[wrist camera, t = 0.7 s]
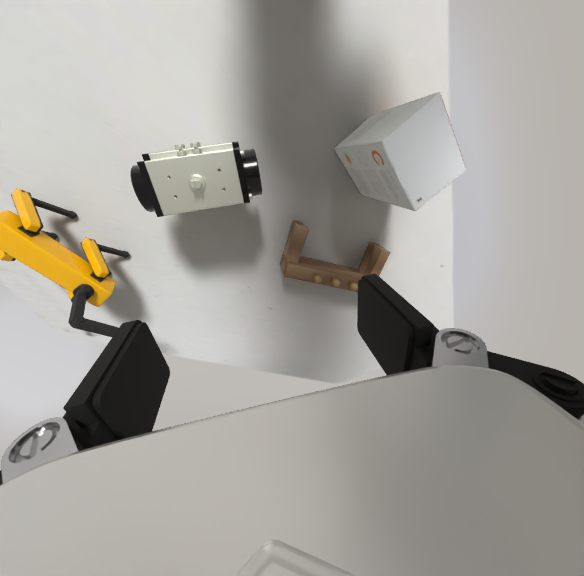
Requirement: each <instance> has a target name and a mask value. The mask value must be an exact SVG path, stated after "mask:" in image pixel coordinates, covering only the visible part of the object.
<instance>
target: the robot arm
mask: <svg viewBox="0 0 584 576" xmlns="http://www.w3.org/2000/svg"><path fill="white" fill-rule="evenodd" d="M357 327H358V332H359V334H360V335H361V337H362V338H363V340H364V341H365V343H366V344H367V346H368V347H369V349H370V350H371V352H372V354H373V355H374V357H375V358H376V360H377V361H378V363H379V364H380V366H381V367H382V369H383V370H384V371H385V373H386V374H387V375H386V376H382V377H378V378H373V379H369V380H364V381H360V382H356V383H351V384H347V385H343V386H339V387H335V388H330V389H326V390H322V391H317V392H313V393H309V394H305V395H300V396H296V397H292V398H288V399H284V400H279V401H275V402H271V403H267V404H263V405H259V406H254V407H250V408H246V409H242V410H238V411H234V412H230V413H226V414H221V415H218V416H213V417H209V418H205V419H201V420H197V421H193V422H190V423H185V424H181V425H177V426H173V427H169V428H165V429H161V430H157V431H152V429H153V426H154V423H155V420H156V417H157V414H158V411H159V408H160V404H161V401H162V398H163V395H164V392H165V389H166V386H167V383H168V379H169V376H170V370H169V367H168V365H167V363H166V361H165V359H164V357H163V355H162V353H161V351H160V349H159V347H158V345H157V343H156V341H155V339H154V337H153V335H152V333H151V331H150V329H149V327H148V325H147V324H146V323H145V322H143V323H142V322H141V321H140V320H136V321H130V322H125V323H123V324H122V325H121V326H120V328H119V329H118V330H117V332H116V333H115V335H114V336H113V338H112V339H111V340H110V342H109V343H108V345H107V346H106V348H105V349H104V350H103V352H102V353H101V355H100V356H99V358H98V359H97V361H96V362H95V363H94V365H93V366H92V368H91V369H90V371H89V372H88V373H87V375H86V376H85V378H84V379H83V380H82V382H81V383H80V385H79V386H78V388H77V389H76V391H75V392H74V393H73V395H72V396H71V398H70V399H69V401H68V402H67V403H66V405H65V406H64V410H65V411H66V414H65V415H64V416H63V418H59V417H56V418H50V419H47V420H45V421H42V422H40V423H38V424H37V425H34V426H33V427H31V428H29V429H28V430H27V431H25V432H24V433H22V434H21V435H20V436H19V437H18V438H17V439H16V440H14V442H13V443H12V444H11V445H10V446H9V447H8V448H7V450H6V451H5V453H4V455H3V456H2V460H1V471H0V576H584V384H583V383H582V382H580V381H579V380H577V379H576V378H574V377H572V376H570V375H568V374H566V373H564V372H561V371H559V370H556V369H553V368H549V367H545V366H541V365H538V364H534V363H530V362H526V361H522V360H519V359H515V358H511V357H507V356H503V355H500V354H496V353H492V352H489V351H487V348H486V345H485V343H484V342H483V341H482V339H481V338H479V337H478V336H476V335H475V334H473V333H471V332H468V331H465V330H462V329H455V328H448V329H443V330H441V331H439V330H438V329H437V328H436V327H435V326H434V325H433V324H432V323H431V322H430V321H429V320H428V319H427V318H425V317H424V316H423V315H422V314H421V313H420V312H419V311H418V310H416V309H415V308H414V307H413V306H412V305H411V304H410V303H408V302H407V301H406V300H405V299H404V298H403V297H402V296H400V295H399V294H398V293H397V292H396V291H395V290H394V289H392V288H391V287H390V286H389V285H388V284H387V283H386V282H385V281H383V280H382V279H381V278H380V277H379V276H378V275H377V274H370V275H365V276H362V278H361V280H359V281H358V322H357Z"/></svg>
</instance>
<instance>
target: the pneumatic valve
mask: <svg viewBox="0 0 584 576" xmlns="http://www.w3.org/2000/svg"><path fill="white" fill-rule="evenodd" d="M190 146H191V148H186V149H185V146H184V145H175V150H171V151H164V152H156V153H149V154H142V157H143V159H144V161H142V162H137V164H138V165H135V166H133V167H132V168H131V181H132V185H133V188H134V191H135V193H136V196H137V198H138V200H139V201H140V203H141V204H142V206H143V207H144V208H145V209H146V210H147V211H149V212H154V211H155V212H156V214H157V217H161V216H167V215H173V214H180V213H186V212H192V211H199V210H205V209H211V208H217V207H224V206H230V205H236V204H242V203H249V202H250V199H253V197H252V196H256V195H261V194H262V186H261V179H260V173H259V168H258V162H257V158H256V153H255V150H254V149H251V150H240V148H239V144H238V142H231V143H223V144H216V145H208V146H201V147H200V143H199V142H198V143H191V144H190Z"/></svg>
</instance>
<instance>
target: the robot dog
mask: <svg viewBox="0 0 584 576" xmlns="http://www.w3.org/2000/svg"><path fill="white" fill-rule="evenodd" d="M11 196H12V199H13V201H14V204H15V207H16V210H17V212H18V215H19V216H18V215H16V214H15V213H13V212H10V211H2V212H0V259H1V260H6V261H14V260H15V259H17V260H19V261H20V262H22V263H24V264H25V265H27V266H29V267H30V268H32V269H34V270H35V271H37V272H39V273H40V274H42V275H44V276H45V277H47V278H49V279H50V280H52V281H54V282H55V283H57V284H59V285H60V286H62V287H64V288H65V289H66V290H67V293H68V295H69V298H70V299H71V302H72V308H71V313H70V317H69V323H70V325H71V326H72V327H73V328H76V329H81V330H85V331H89V332H93V333H97V334H101V335H105V336H109V337H113V336H114V335H115V333H116V332H117V330H118V329H119V328H118V327H114V326H111V325H107V324H103V323H100V322H96V321H92V320H89V319H85V318H84V317H83V315H84V309H85V303H86V301H87V302H89V303H90V304H92V305H95V306H97V307H99V306H100V305H102V304H103V303H104V302H105V301H106V300H107V299H108V298H109V297H110V296H111V295H112V292H113V290H114V287H115V284H116V281H115V280H113V279H112V278H110V277H109V275H110V274H111V272H110V270H109V268H108V266H107V264H106V262H105V260H104V258H103V256H102V253H101V251H103V252H107V253H111V254H115V255H119V256H123V257H124V258H127V257H128V256H129V253H128V252H126V251H121V250H117V249H113V248H110V247H106V246H102V245H99V244H97V243H96V241H95V240H93V239H89V238H85V239H84V240H83V241H82V242H81V246H82V248H83V250H84V253H85V255H86V257H87V259H88V262H89V263H88V262H87V261H85V260H84V259H82V258H81V257H79V256H78V255H76V254H75V253H73V252H72V251H70V250H69V249H67V248H66V247H64V246H63V245H61V244H60V243H58V242H57V241H55V239H56V238H57V237H58V236H57V235H56V234H54V233H49V232H45V231H41V229H42V228H43V224H42V222H41V219H40V217H39V214H38V212H37V209H36V207H35V206H38V207H41V208H44V209H47V210H50V211H53V212H56V213H59V214H62V215H65V216H68V217H70V218H72V219H74V218H75V217H76V216H77V215H76V213H74V212H73V211H68V210H65V209H63V208H60V207H57V206H54V205H51V204H49V203H46V202H43V201H40V200H37V199H35V198H32V197H31V194H30V193H29V192H26V191H23V190H21V189H18V188H17V189H16V190H15V191H14V192H13V194H12V195H11Z"/></svg>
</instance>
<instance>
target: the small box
mask: <svg viewBox="0 0 584 576" xmlns="http://www.w3.org/2000/svg"><path fill="white" fill-rule="evenodd" d="M334 150H335V151H336V153H337V155H338V156H339V158H340V160H341V161H342V163H343V165H344V166H345V168H346V170H347V171H348V173H349V175H350V176H351V178H352V180H353V181H354V183H355V185H356V186H357V188H358V190H359V191H360V193H361V194H362V196H366V197H369V198H373V199H376V200H380V201H383V202H386V203H390V204H393V205H396V206H400V207H403V208H406V209H410V210H413V211H416V210H417V209H418V208H420V207H421V206H422V205H423V204H425V203H426V202H427V201H428V200H430V199H431V198H432V197H433V196H435V195H436V194H437V193H439V192H440V191H441V190H442V189H444V188H445V187H446V186H447V185H448V184H450V183H451V182H452V181H453V180H455V179H456V178H457V177H458V176H460V175H461V174H462V173H463V172H465V171H466V167H465V164H464V161H463V158H462V155H461V152H460V149H459V146H458V143H457V141H456V138H455V135H454V132H453V129H452V126H451V123H450V120H449V117H448V115H447V112H446V109H445V106H444V103H443V100H442V97H441V94H440V92H438V93H435V94H432V95H429V96H426V97H423V98H420V99H417V100H414V101H411V102H409V103H406V104H403V105H400V106H397V107H394V108H391V109H388V110H385V111H382V112H380V113H377V114H374V115H371V116H370V117H369V118H368V119H367V120H365V121H364V122H363V123H362V124H361V125H360V126H359V127H358V128H356V129H355V130H354V131H353V132H352V133H351V134H350V135H349V136H348V137H346V138H345V139H344V140H343V141H342V142H341V143H340V144H339V145H337V146H336V147H335V148H334Z"/></svg>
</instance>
